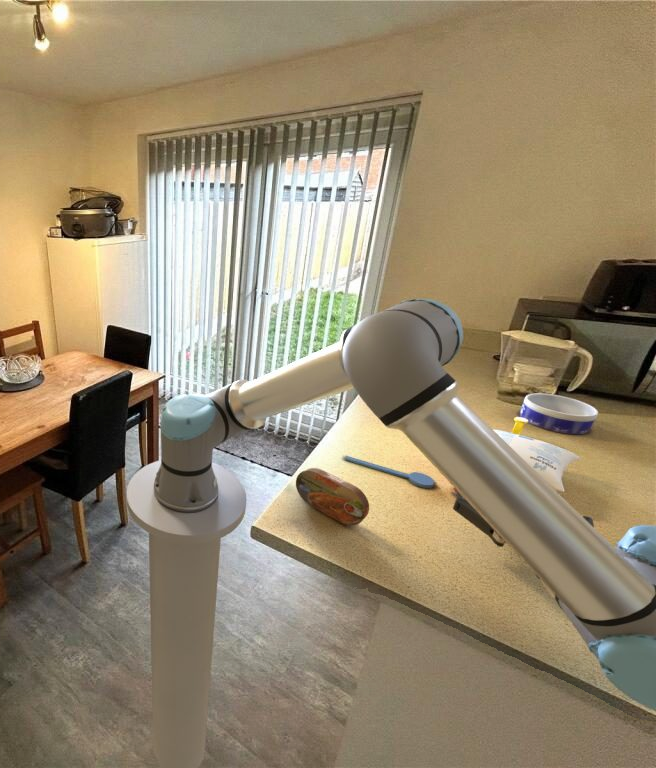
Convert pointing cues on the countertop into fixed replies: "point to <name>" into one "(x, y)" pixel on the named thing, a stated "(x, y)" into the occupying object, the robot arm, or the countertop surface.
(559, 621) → the countertop surface
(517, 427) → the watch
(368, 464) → the spoon
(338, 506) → the tin
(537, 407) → the dog bowl
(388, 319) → the robot arm
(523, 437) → the pouch
